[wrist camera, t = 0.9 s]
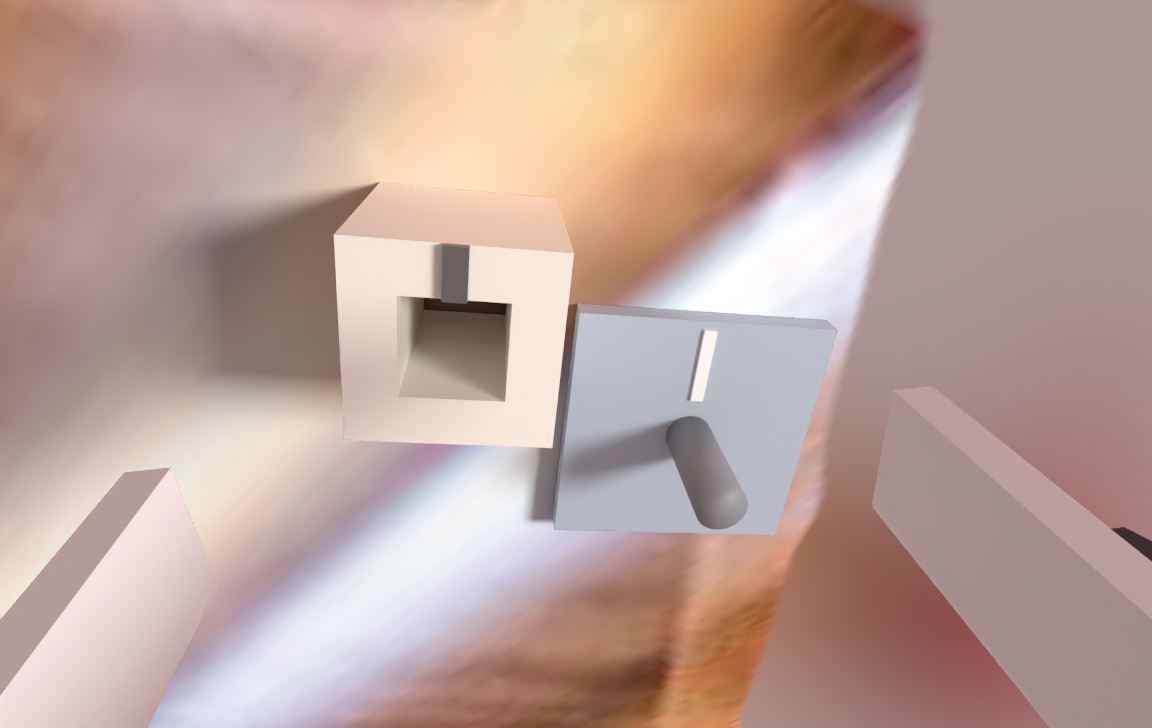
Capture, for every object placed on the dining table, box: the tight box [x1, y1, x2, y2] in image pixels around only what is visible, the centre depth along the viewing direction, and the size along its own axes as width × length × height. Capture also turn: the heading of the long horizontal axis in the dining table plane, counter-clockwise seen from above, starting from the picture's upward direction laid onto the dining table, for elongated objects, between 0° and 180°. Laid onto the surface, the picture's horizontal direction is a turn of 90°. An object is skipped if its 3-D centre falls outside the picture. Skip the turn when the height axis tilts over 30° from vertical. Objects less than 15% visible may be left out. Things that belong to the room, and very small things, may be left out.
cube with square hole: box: [334, 183, 574, 448], centre depth 25 cm, size 7×7×8 cm
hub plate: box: [553, 303, 838, 535], centre depth 30 cm, size 12×12×7 cm
